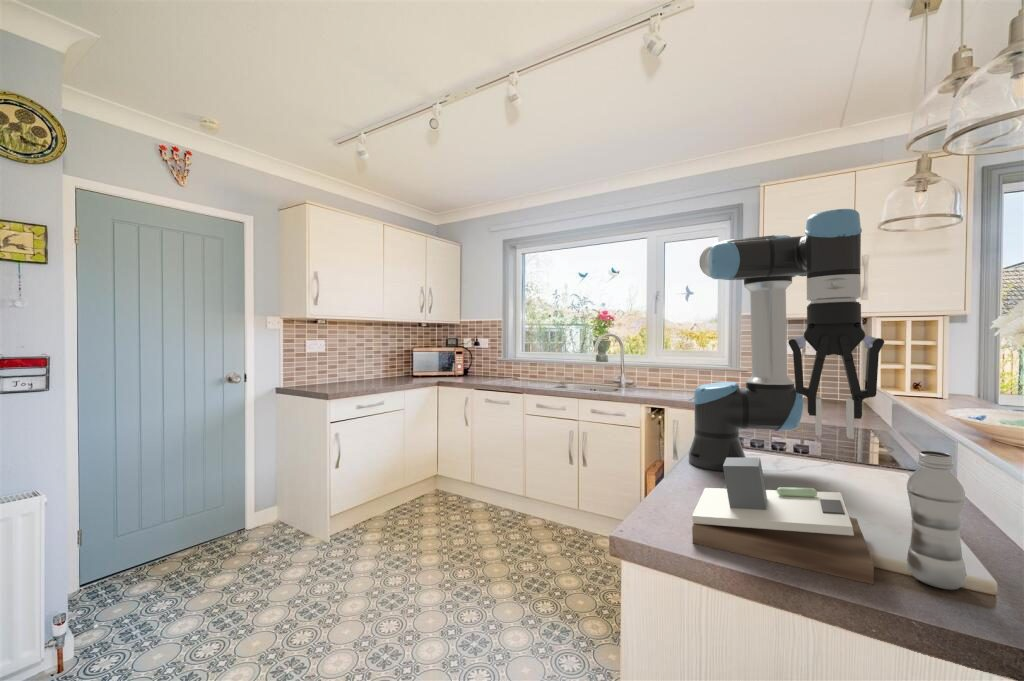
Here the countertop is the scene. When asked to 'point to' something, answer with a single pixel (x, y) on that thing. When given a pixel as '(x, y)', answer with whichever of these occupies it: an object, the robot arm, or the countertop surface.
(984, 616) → the countertop surface
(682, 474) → the countertop surface
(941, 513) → the plastic bottle
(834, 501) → the plate
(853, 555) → the walnut base
